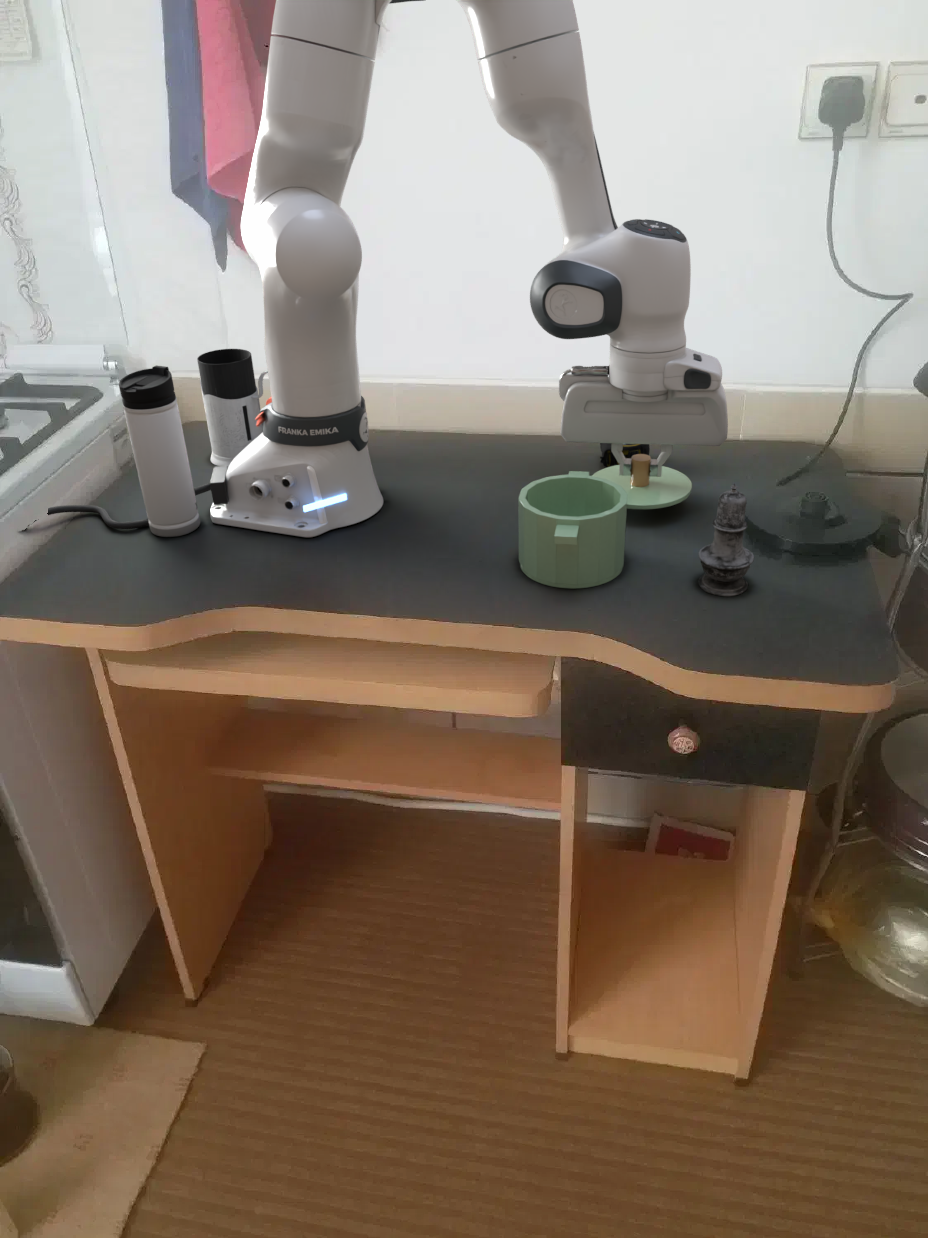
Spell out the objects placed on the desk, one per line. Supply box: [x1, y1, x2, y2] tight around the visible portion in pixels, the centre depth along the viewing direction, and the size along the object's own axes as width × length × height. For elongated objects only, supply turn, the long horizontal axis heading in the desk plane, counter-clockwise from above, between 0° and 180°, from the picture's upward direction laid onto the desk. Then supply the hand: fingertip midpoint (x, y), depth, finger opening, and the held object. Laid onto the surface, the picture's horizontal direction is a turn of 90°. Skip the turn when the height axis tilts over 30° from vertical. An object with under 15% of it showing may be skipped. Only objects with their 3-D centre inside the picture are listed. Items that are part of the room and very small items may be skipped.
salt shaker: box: [697, 483, 755, 597], centre depth 106 cm, size 6×6×12 cm
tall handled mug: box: [196, 348, 268, 467], centre depth 142 cm, size 9×14×15 cm, turn 65°
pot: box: [517, 470, 628, 589], centre depth 112 cm, size 12×17×8 cm
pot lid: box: [591, 454, 693, 510], centre depth 125 cm, size 13×13×5 cm
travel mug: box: [118, 365, 201, 538], centre depth 121 cm, size 6×7×20 cm
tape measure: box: [599, 443, 650, 468], centre depth 138 cm, size 7×7×4 cm
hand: (640, 474), depth 125 cm, fingers closed on pot lid, 2 cm apart
